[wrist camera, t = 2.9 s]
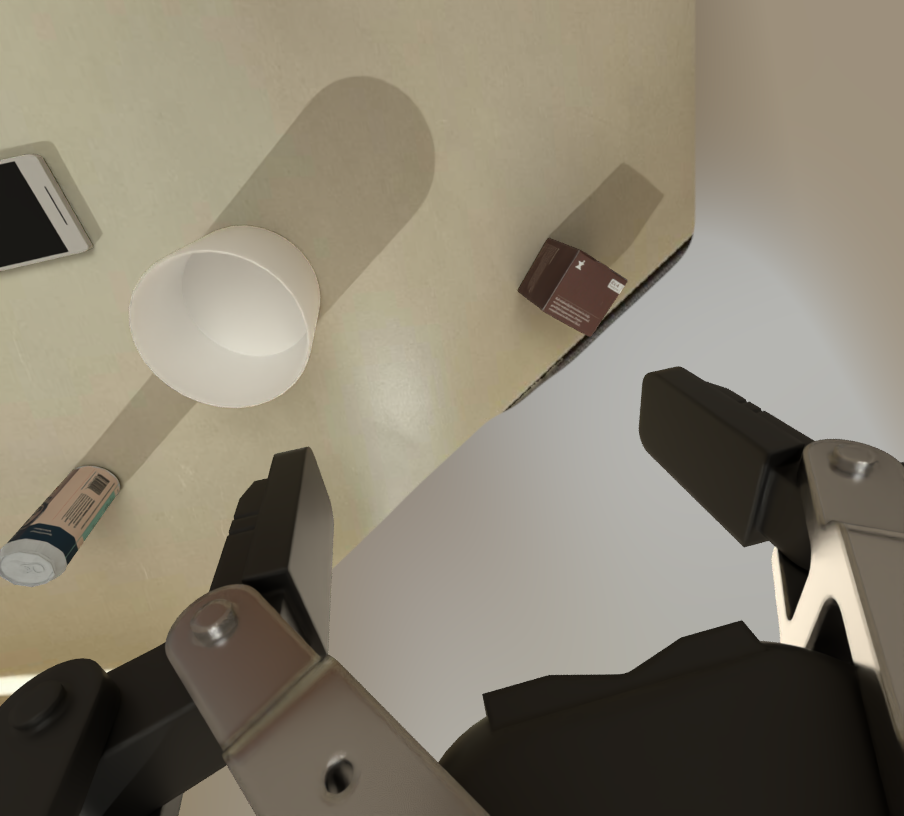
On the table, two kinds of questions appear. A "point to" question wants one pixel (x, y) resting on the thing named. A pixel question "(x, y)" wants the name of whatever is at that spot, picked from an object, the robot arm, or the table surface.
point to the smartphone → (35, 215)
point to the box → (571, 286)
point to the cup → (228, 317)
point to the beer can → (58, 527)
